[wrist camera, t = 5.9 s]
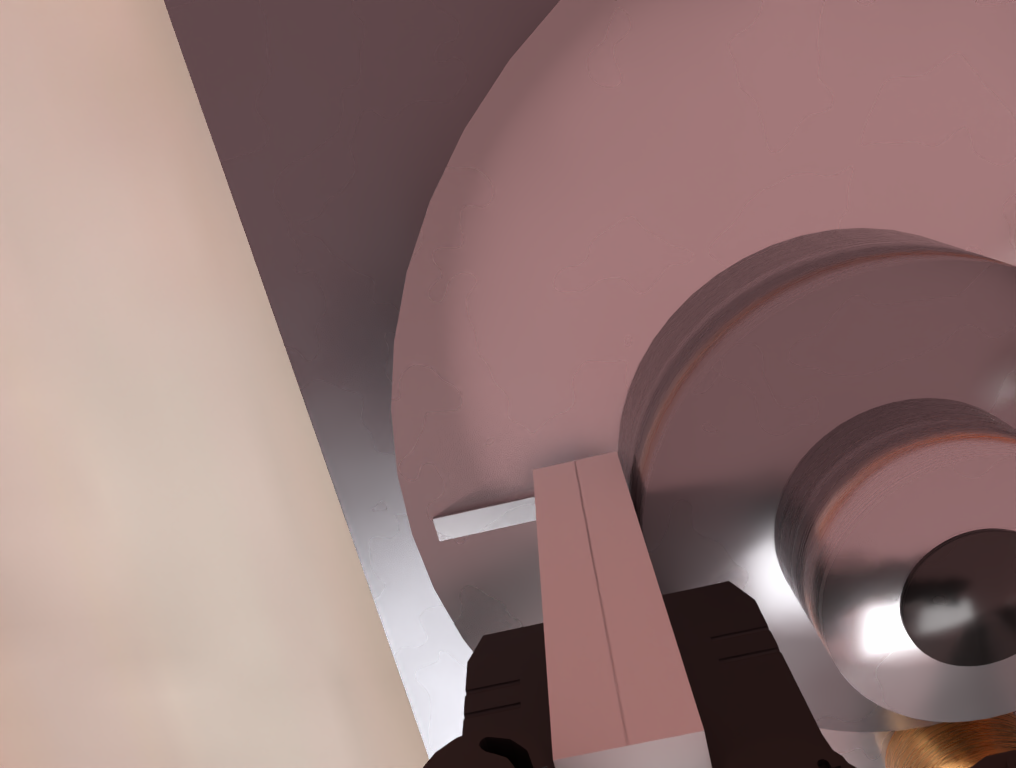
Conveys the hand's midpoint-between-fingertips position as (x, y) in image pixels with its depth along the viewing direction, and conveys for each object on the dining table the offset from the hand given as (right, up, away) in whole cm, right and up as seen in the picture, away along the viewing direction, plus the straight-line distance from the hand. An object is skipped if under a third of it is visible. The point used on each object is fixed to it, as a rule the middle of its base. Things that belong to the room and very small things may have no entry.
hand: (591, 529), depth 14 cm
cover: (+5, +1, +1) cm, 5 cm away
